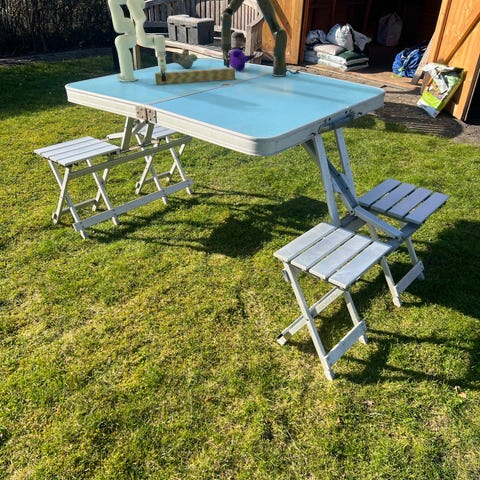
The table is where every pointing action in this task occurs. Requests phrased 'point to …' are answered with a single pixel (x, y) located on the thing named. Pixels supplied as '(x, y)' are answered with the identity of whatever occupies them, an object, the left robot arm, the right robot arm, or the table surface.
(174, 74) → the bar
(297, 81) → the table surface
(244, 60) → the toy
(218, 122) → the table surface
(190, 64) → the teapot
